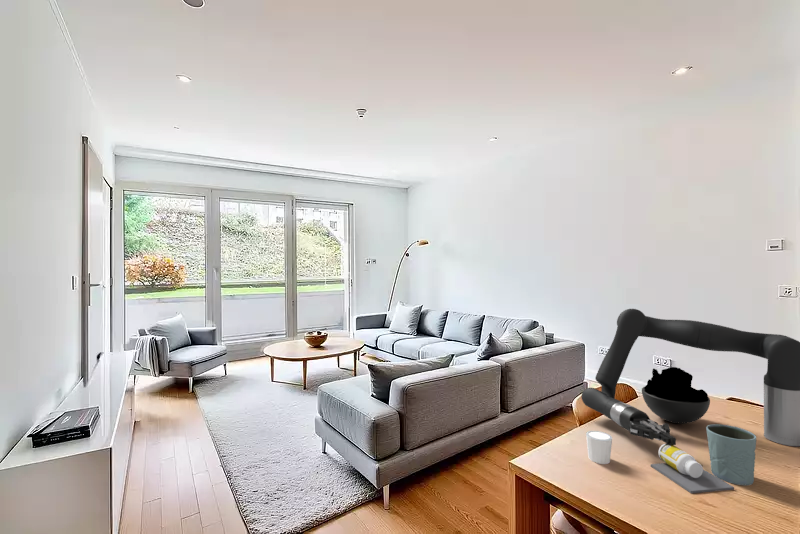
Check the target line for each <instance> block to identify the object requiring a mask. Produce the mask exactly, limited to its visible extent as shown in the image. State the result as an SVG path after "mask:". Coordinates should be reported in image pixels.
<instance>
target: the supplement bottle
mask: <svg viewBox="0 0 800 534" xmlns="http://www.w3.org/2000/svg"><path fill="white" fill-rule="evenodd" d="M657 454H658V457H659V459H660V460H661V461H662V463H667V464H668V465H670V466H671V467H673V468H674V469H676V470H677V471H679V472H680V473H682V474H685V475H690V476H691V477H693V478H698V477H700V476H701V475H702V473H703V469H704V467H703V465H702V464H701V463H699V462H698V461H697V460H696V459H695V457H694V456H692V455H691V454H689V453H688V452H686V451H684V450H682V449H681V448H679V447H677V446H676V445H668V444H667V443H663V444H661V446H659V448H658V453H657Z"/></svg>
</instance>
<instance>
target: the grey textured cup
mask: <svg viewBox="0 0 800 534" xmlns="http://www.w3.org/2000/svg"><path fill="white" fill-rule="evenodd" d="M705 429H706V435H707V437H706V438H707V442H708V445H707V446H708V453H709V454H708V455H709V461H710V470H711V474H712V475H714V476H716V477H717V478H719V479H721V480H723V481H724V482H726V483H728V484H729V483H730V484H734V485H736V486H737V485H738V486H751V485H753V484H754V482H755V481H754V479H755V467H756V465H755V463H756V449H757V448H756V445H757V436H756V434H754V433H753V432H752V431H749V430H746V429H744V428H741V427H738V426H733V425H729V424H722V423H721V424H719V423H718V424H717V423H715V424H714V423H712V424H708V425H706V427H705Z"/></svg>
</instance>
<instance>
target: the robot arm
mask: <svg viewBox="0 0 800 534" xmlns="http://www.w3.org/2000/svg"><path fill="white" fill-rule="evenodd" d="M616 326H617V328H616V330H615V331H616V332H615V335H614V338H613V340H612V342H611V344H610V346H609V348H608V350H607V352H606V354H605V356H604V358H603V359H602V362H601V364H600V366H599V368H598V370H597V373H596V375H595V380H596V382H597V383H598V384H599V385H600V386H601V389H600V390H599V389H596V388H594V387H587V388H585V389H584V390H582V392H581V400H582V403H583V404H584V405H585V406H586V407H587V408H590V409H592V410H593V411H596V412H597V413H600V414H602V415H603V416H605V417H606V418H607V419H610V420H611V421H613V422H614V423H616V425H618V426H620V427H622V429H624V430H626V431H628V432H629V433H630V435H632V436H636V437H639V438H644V439H647V440H652V441H653V440H657V441H662V442H664V444H666V443H667V444H668V445H674V446H676V445H677V438H676V437H675V436H673V435H671V429H670V424H669V423H667V422H664V423H662V424H659V423H658V422H657V421H654V420H652V419H651V418H650V417H649V415H648V414H647V413H646V412H644V411H643V410H640V409H639V408H638V407H635V406H632V405H630V404H629V403H624V402H623V401H622V400H619V399H616V392H617V390H616V389H617V385H618V381H619V380H620V377H621V375H622V373H623V371H624V368H625V365H626V362H627V360H628V357H629V355H630V352H631V350H632V348H633V346H634V345H635V343H636V341H637V340H638V338H639V337H643V338H644V337H645V338H650V339H658V340H663V341H667V342H671V343H673V344H679V345H682V346H685V347H691V348H695V349H699V350H705V351H712V352H730V353H731V352H733V353H742V354H747V355H751V356H755V357H760V358H763V359H766V360H767V371H766V373H765V374H764V375H763V437H764V438H765V439H767V440H769V441H772V442H774V443H777V444H780V445H783V446H790V447H800V341H799V340H797V339H795V338H792V337H790V336H788V335H787V336H786V335H783V334H778V333H777V334H776V333H763V332H753V331H745V330H739V329H736V328H733V327H729V326H728V327H727V326H724V325H720V324H719V325H718V324H714V323H710V322H703V321H698V320H688V319H663V318H657V317H653V316H647V315H645V314H644V313H643V311H641V310H639V309H636V308H628V309H625V310H623V311H622V312H620V314H619V315H618V317H617V319H616Z"/></svg>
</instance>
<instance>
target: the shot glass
mask: <svg viewBox="0 0 800 534" xmlns="http://www.w3.org/2000/svg"><path fill="white" fill-rule="evenodd" d="M585 437H586V447H587V457H588V459H589V460H590V461H591V462H593V463H595V462H596V463H595V464H599V465H607V464H609V463H611V457H612V456H611V455H612V453H611V452H612V445H613V436H612V435H611V434H609V433H607V432H604V431H600V430H588V431H587V432H586V433H585Z"/></svg>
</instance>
